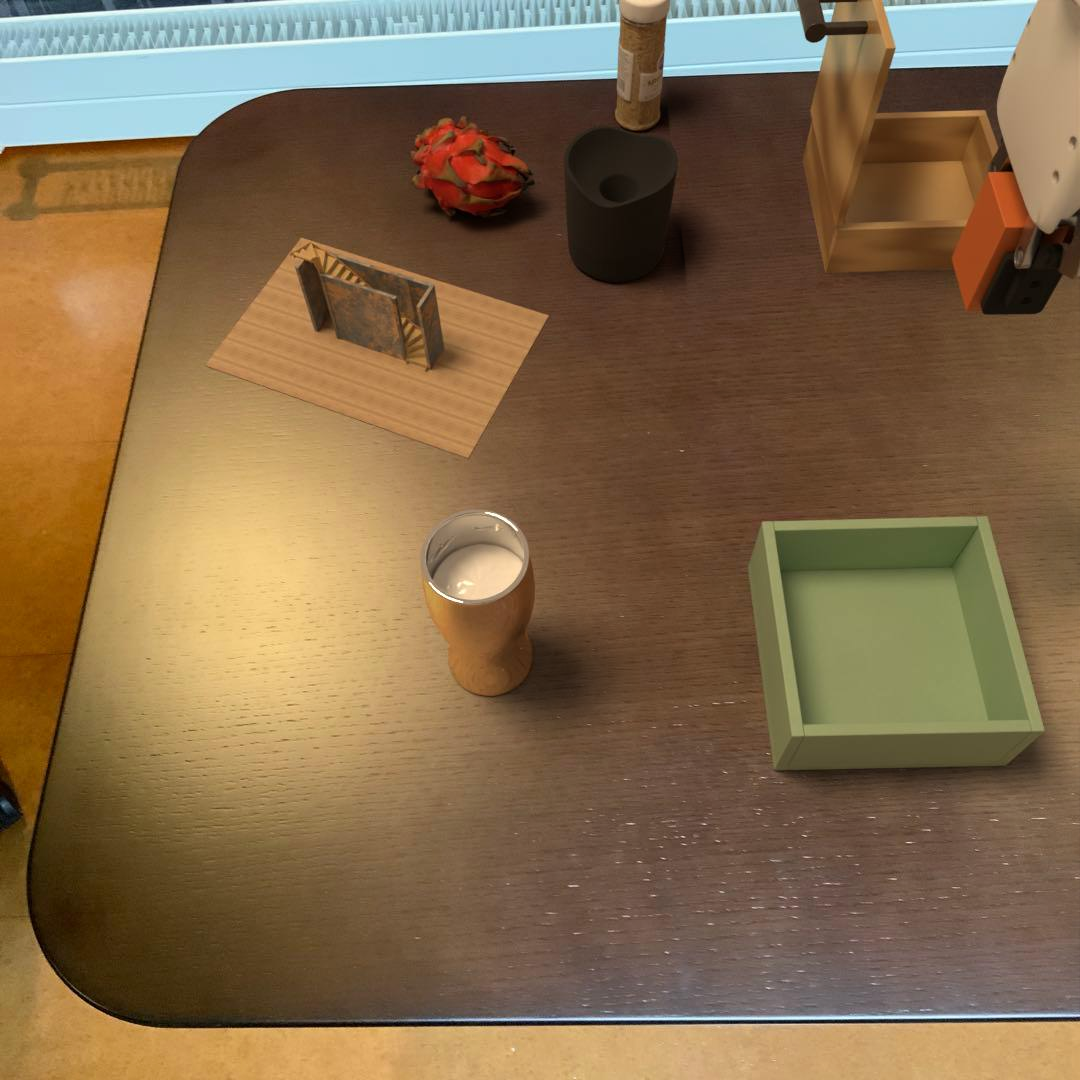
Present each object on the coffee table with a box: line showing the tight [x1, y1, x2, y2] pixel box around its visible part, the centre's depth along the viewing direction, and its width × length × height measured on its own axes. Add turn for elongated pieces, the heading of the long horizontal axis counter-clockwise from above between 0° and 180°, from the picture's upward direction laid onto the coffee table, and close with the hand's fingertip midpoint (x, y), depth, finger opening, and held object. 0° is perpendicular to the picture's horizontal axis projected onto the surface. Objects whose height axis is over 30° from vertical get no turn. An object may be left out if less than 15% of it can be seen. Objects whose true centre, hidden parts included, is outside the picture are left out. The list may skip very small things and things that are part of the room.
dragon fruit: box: [410, 115, 535, 218], centre depth 96 cm, size 8×8×12 cm
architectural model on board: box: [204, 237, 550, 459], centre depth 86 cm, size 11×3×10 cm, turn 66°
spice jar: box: [614, 0, 671, 132], centre depth 99 cm, size 5×5×13 cm
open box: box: [747, 515, 1046, 771], centre depth 72 cm, size 16×16×7 cm
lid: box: [796, 0, 897, 226], centre depth 84 cm, size 16×15×5 cm
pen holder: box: [563, 125, 679, 283], centre depth 91 cm, size 9×9×10 cm
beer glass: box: [419, 508, 536, 697], centre depth 69 cm, size 7×7×15 cm
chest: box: [802, 109, 999, 274], centre depth 94 cm, size 16×15×6 cm
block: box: [952, 172, 1069, 312], centre depth 55 cm, size 4×4×6 cm
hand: (1000, 274), depth 57 cm, fingers closed on block, 4 cm apart
